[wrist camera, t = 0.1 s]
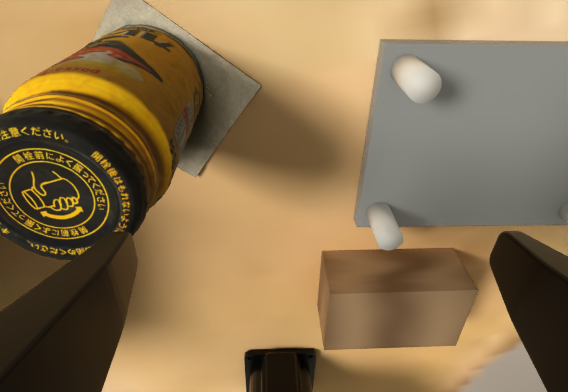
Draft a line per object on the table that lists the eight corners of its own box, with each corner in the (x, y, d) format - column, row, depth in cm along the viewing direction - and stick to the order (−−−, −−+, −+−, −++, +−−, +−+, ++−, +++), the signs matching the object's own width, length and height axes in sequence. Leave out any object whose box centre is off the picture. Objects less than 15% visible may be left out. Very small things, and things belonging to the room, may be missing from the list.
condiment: (119, -17, 19) (-45, 30, 9) (261, 84, 22) (258, 205, 12) (65, 100, 22) (-102, 233, 12) (196, 174, 25) (150, 331, 15)
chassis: (663, 42, 22) (737, 61, 18) (571, 216, 28) (612, 253, 25) (380, 39, 21) (402, 58, 17) (353, 218, 27) (366, 256, 24)
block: (451, 245, 30) (478, 290, 26) (433, 299, 33) (455, 345, 29) (321, 248, 29) (329, 294, 25) (317, 302, 33) (324, 349, 29)
